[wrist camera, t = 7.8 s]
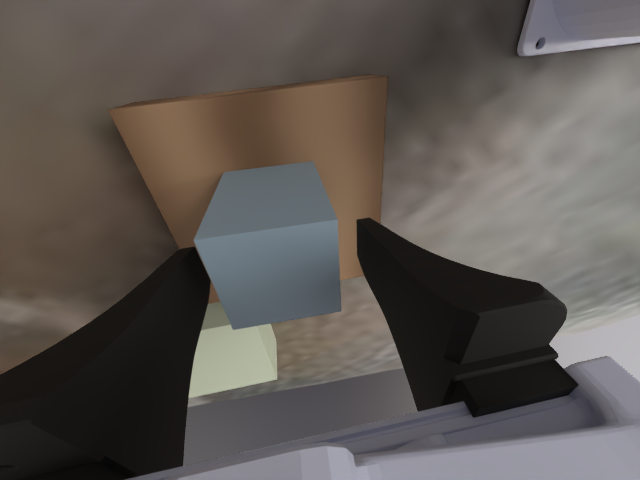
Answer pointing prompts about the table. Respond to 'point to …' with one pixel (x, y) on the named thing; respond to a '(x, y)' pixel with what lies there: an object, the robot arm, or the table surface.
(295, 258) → the slate block
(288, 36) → the table surface
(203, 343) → the sage block
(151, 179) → the walnut block
